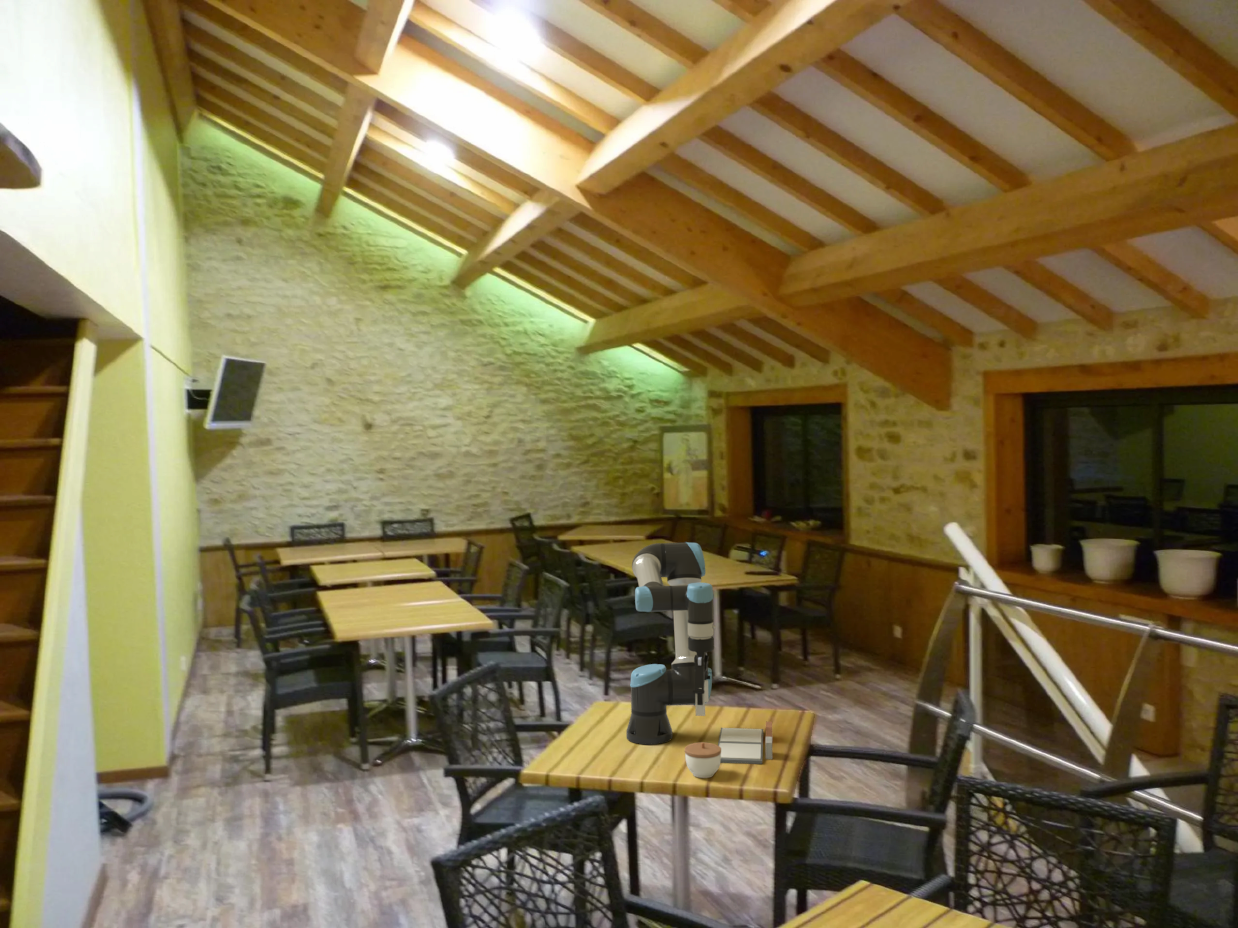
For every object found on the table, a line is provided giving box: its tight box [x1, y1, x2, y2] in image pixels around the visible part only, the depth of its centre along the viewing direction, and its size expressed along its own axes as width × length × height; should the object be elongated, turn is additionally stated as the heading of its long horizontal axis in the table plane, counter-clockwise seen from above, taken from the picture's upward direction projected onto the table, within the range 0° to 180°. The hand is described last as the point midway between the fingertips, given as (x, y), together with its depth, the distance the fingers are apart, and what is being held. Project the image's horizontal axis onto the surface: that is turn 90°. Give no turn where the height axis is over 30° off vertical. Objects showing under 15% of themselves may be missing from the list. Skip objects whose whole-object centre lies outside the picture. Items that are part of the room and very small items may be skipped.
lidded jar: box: [684, 741, 721, 779], centre depth 280 cm, size 11×11×9 cm
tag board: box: [717, 721, 773, 765], centre depth 302 cm, size 17×30×5 cm, turn 171°
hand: (702, 708), depth 279 cm, fingers open, 13 cm apart
